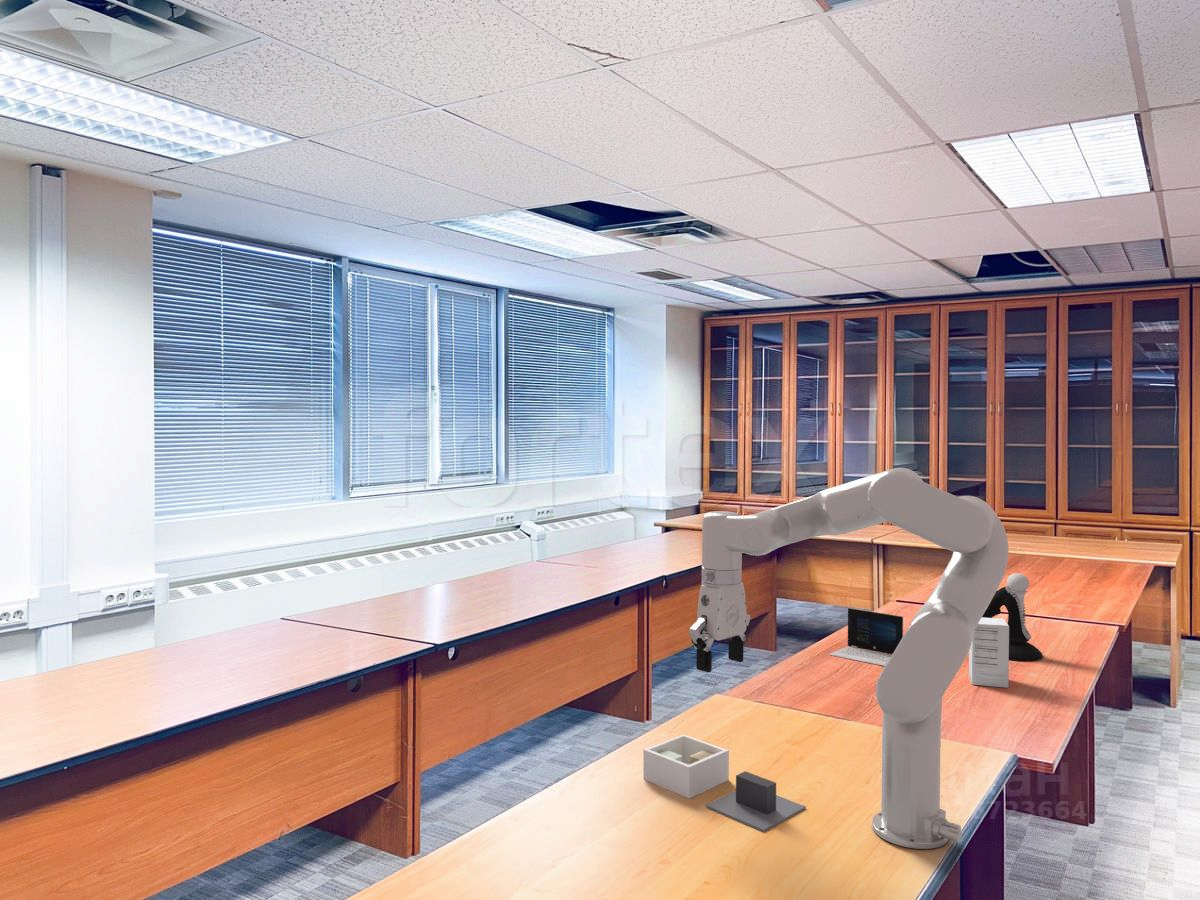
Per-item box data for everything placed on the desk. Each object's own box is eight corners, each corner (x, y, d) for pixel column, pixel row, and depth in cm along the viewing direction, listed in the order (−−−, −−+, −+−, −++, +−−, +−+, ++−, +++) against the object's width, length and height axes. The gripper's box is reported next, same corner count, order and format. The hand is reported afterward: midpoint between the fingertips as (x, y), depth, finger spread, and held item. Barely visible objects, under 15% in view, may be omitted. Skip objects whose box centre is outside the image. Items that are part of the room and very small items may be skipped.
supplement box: (1009, 688, 226) (1010, 626, 225) (971, 685, 229) (972, 623, 228) (1004, 678, 235) (1005, 618, 234) (968, 675, 238) (969, 615, 237)
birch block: (718, 776, 169) (718, 756, 168) (705, 781, 166) (705, 761, 166) (702, 770, 172) (702, 750, 171) (689, 775, 169) (689, 755, 169)
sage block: (682, 775, 169) (682, 755, 169) (669, 781, 166) (669, 761, 166) (667, 769, 172) (667, 750, 172) (654, 775, 169) (654, 755, 169)
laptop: (828, 656, 258) (828, 614, 258) (847, 648, 267) (848, 607, 267) (884, 668, 246) (885, 623, 246) (903, 659, 255) (903, 616, 255)
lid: (805, 811, 156) (806, 779, 156) (763, 835, 147) (763, 801, 147) (748, 789, 166) (748, 759, 165) (705, 810, 157) (706, 778, 157)
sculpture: (1034, 664, 248) (1035, 579, 247) (951, 650, 263) (952, 570, 262) (1047, 653, 259) (1049, 572, 258) (967, 640, 275) (968, 564, 274)
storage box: (728, 780, 169) (728, 750, 168) (689, 798, 160) (689, 767, 160) (683, 762, 177) (683, 734, 177) (643, 779, 169) (643, 749, 169)
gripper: (708, 585, 152) (706, 679, 153) (764, 573, 164) (763, 661, 165) (676, 579, 158) (675, 670, 158) (733, 568, 170) (732, 653, 170)
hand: (720, 665), depth 162 cm, fingers open, 9 cm apart
